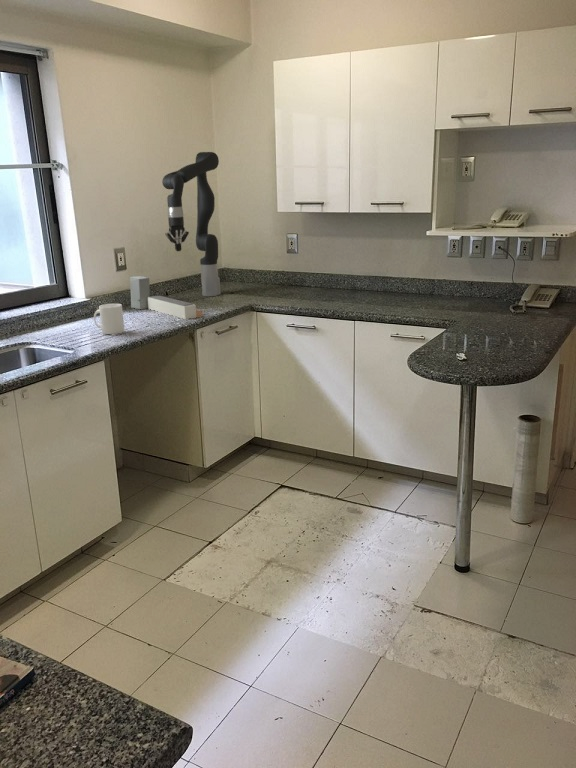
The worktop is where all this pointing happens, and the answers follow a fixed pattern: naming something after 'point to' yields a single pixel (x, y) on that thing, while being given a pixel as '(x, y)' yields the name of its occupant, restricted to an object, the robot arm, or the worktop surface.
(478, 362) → the worktop surface
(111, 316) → the mug
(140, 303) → the skincare box
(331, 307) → the worktop surface
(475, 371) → the worktop surface
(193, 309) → the long cream box
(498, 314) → the worktop surface
